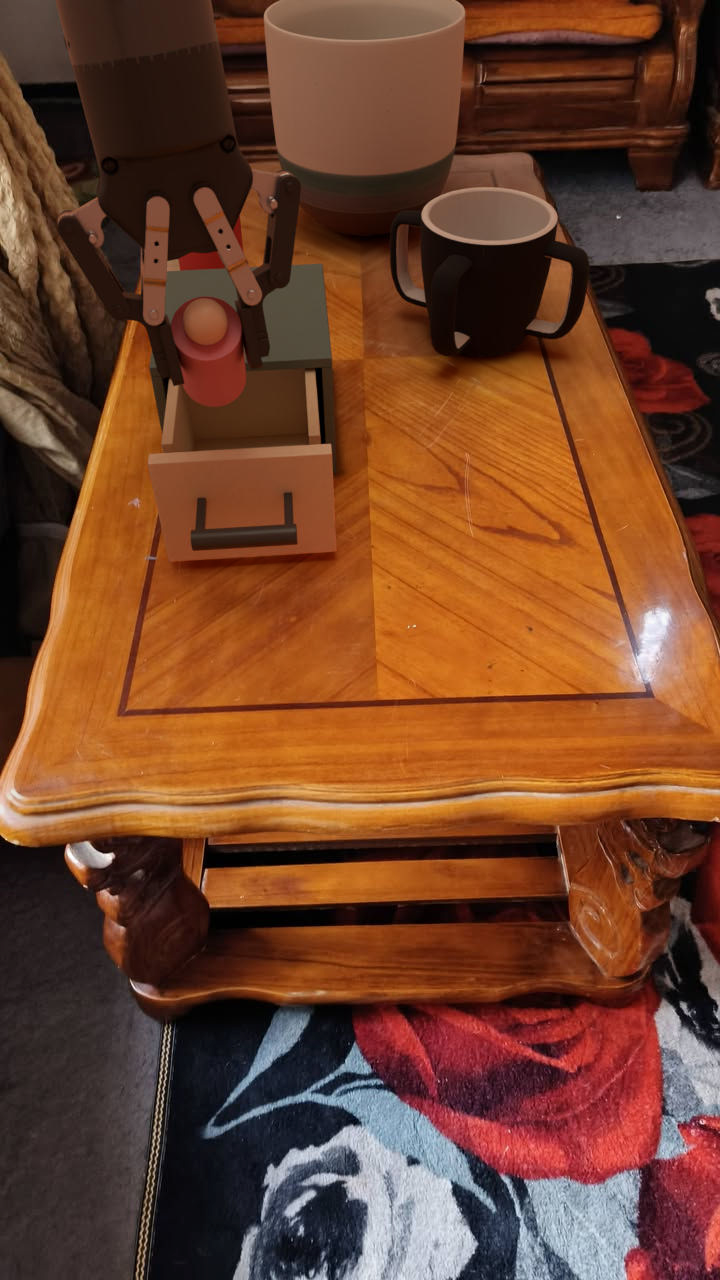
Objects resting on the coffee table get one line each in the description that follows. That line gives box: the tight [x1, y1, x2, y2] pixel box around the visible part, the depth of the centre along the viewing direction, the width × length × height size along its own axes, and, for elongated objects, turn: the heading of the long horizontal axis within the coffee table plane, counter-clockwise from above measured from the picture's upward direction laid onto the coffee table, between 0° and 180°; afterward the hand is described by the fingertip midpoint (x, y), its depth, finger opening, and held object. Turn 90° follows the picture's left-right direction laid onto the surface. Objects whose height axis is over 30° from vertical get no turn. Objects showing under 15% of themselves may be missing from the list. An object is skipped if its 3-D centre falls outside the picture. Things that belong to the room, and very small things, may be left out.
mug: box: [389, 186, 591, 358], centre depth 89 cm, size 16×16×12 cm
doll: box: [171, 296, 246, 407], centre depth 59 cm, size 4×4×8 cm
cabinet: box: [148, 263, 338, 474], centre depth 80 cm, size 16×14×11 cm
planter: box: [263, 0, 466, 237], centre depth 104 cm, size 20×20×21 cm
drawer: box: [147, 368, 337, 563], centre depth 71 cm, size 19×12×9 cm, turn 4°
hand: (216, 371), depth 58 cm, fingers closed on doll, 4 cm apart
